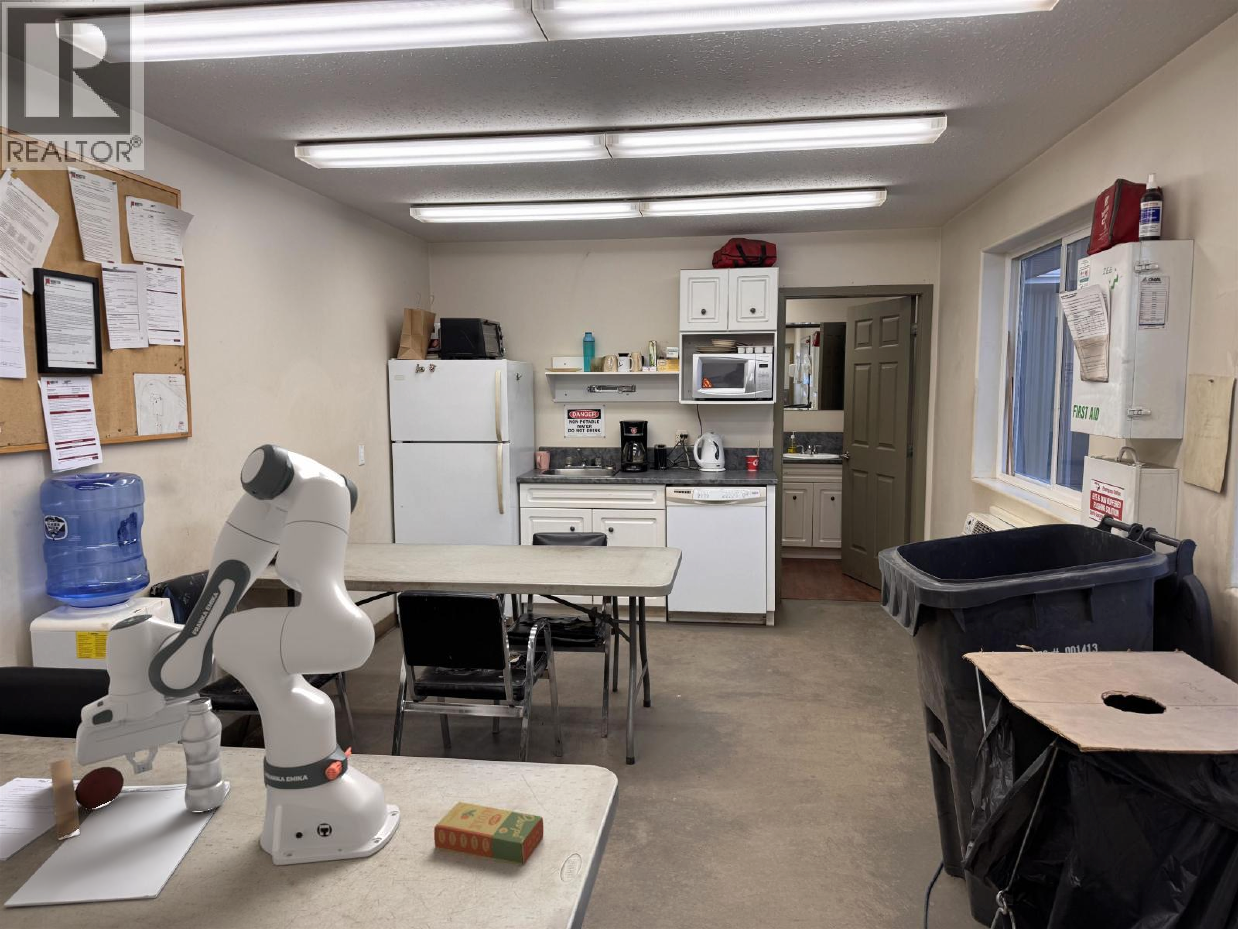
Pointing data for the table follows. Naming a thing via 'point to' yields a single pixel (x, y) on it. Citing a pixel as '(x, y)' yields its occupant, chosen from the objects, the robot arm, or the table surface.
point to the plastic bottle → (202, 756)
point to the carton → (489, 833)
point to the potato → (99, 787)
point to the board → (64, 798)
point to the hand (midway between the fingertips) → (143, 771)
